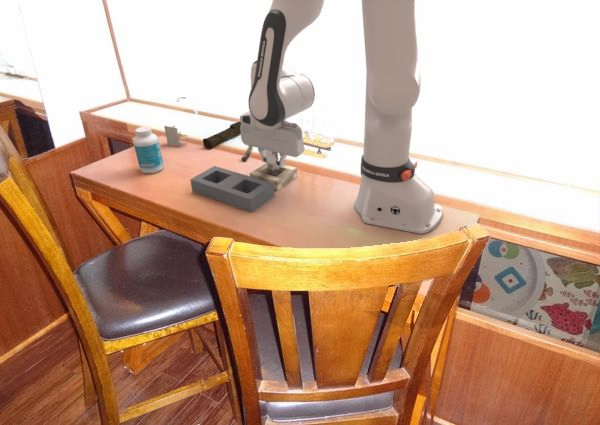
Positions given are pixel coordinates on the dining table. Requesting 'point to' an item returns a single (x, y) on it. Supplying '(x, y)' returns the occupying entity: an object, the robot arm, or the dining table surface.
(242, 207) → the block
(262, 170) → the socket block
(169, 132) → the architectural model
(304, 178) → the dining table surface
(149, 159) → the pill bottle
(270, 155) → the metal peg
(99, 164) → the dining table surface
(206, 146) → the dark brown bar
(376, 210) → the robot arm
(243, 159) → the tomahawk
